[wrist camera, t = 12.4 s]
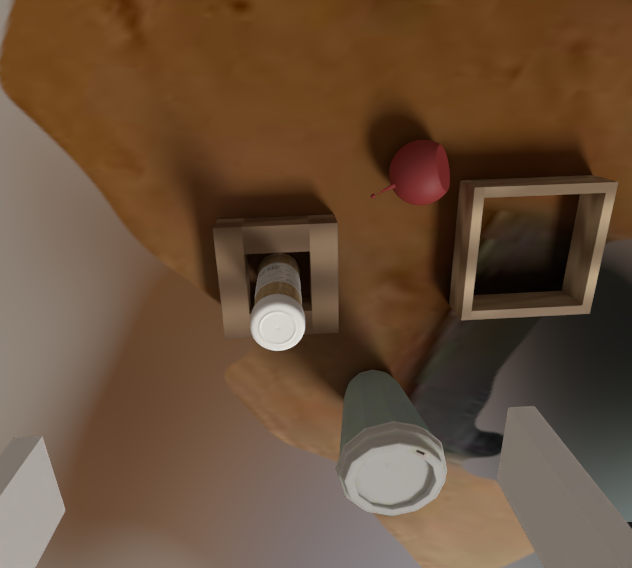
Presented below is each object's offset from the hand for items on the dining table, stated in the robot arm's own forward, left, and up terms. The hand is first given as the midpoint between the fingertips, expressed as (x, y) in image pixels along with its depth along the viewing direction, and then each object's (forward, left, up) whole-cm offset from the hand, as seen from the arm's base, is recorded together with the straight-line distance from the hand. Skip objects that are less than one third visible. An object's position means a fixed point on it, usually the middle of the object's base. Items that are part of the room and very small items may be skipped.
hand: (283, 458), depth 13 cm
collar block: (+8, -1, -37) cm, 38 cm away
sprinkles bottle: (+8, -1, -37) cm, 38 cm away
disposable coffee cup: (+24, +9, -37) cm, 45 cm away
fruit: (-2, +12, -37) cm, 39 cm away
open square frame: (+6, +25, -37) cm, 45 cm away
